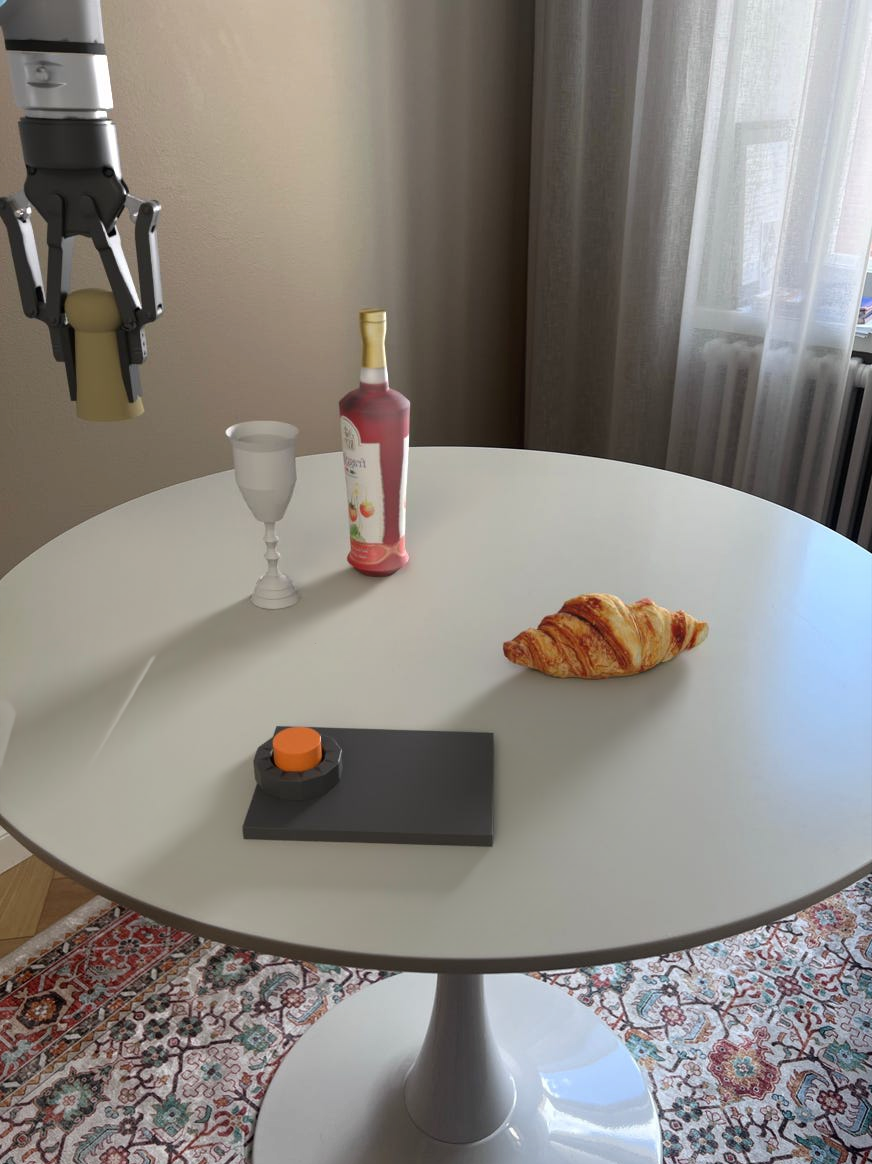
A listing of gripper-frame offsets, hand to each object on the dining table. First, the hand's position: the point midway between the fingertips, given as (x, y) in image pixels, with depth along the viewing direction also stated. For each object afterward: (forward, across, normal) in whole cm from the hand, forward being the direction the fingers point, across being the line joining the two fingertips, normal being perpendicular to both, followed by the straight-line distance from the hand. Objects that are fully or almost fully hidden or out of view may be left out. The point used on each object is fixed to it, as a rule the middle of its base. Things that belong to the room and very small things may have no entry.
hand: (106, 397), depth 95 cm
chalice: (+22, +14, +2) cm, 26 cm away
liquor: (+22, +24, +10) cm, 34 cm away
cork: (+2, 0, 0) cm, 2 cm away
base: (+22, +27, -30) cm, 46 cm away
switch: (+19, +21, -30) cm, 41 cm away
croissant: (+22, +48, -9) cm, 53 cm away
